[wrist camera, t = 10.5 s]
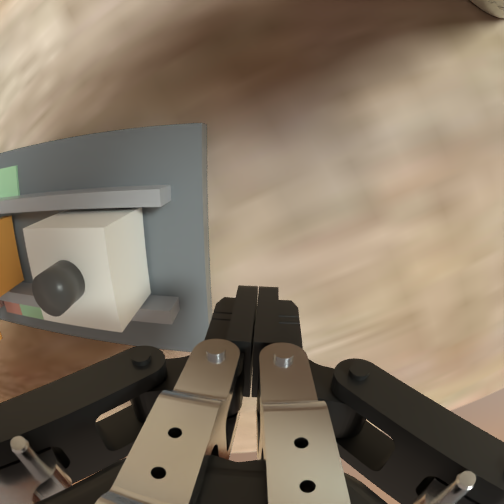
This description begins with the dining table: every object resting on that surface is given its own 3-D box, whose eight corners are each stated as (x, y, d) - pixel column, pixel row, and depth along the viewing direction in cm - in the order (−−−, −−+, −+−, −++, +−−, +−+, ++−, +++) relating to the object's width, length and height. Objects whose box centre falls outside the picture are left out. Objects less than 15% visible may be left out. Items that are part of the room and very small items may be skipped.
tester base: (-26, 162, 20) (-51, 167, 17) (206, 124, 19) (193, 120, 15) (2, 311, 25) (-17, 326, 22) (214, 342, 24) (206, 370, 21)
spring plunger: (67, 209, 19) (0, 238, 12) (141, 206, 19) (82, 239, 12) (80, 287, 21) (27, 335, 14) (151, 293, 21) (107, 353, 14)
